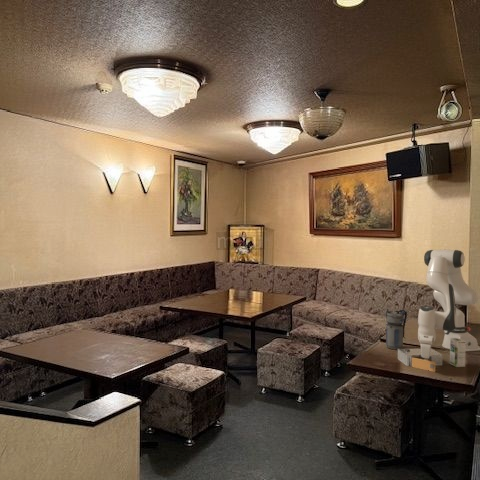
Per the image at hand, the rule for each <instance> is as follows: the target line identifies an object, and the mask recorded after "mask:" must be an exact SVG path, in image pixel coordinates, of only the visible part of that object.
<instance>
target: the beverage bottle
mask: <svg viewBox="0 0 480 480" xmlns="http://www.w3.org/2000/svg"><path fill="white" fill-rule="evenodd" d="M384 316H385V322H386V325H385V346H386V348H387V349H389V350H394V351H395V350H396V351H398V349H404V339H406V337H405V326H406V322H407V317H408V312H407V311H406V310H405V309H400V310H394V311H393V310H392V311H391V310H389V308H386V309H385V311H384Z"/></svg>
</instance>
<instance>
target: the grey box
mask: <svg viewBox="0 0 480 480" xmlns="http://www.w3.org/2000/svg"><path fill="white" fill-rule="evenodd" d="M410 356H412V357H413V358H418V359H423V360H424V358H423V357H422V355H421V348H402V349H398V350H397V360H398V361H400V362H401V363H402V364H404V365H405V366H406V367H410ZM428 361H432V362H435V367H436V366H439V367H440V366H443V354H441V352H439V351H436V350H435V349H434V348H432V347H431V351H430V357H429V358H428Z"/></svg>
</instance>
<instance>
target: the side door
mask: <svg viewBox="0 0 480 480" xmlns="http://www.w3.org/2000/svg"><path fill="white" fill-rule="evenodd" d="M409 367H410V368H411V367H413V368H414V369H415V368H416V369H421V370H424V371H428V370H429V371H430V372H433V373H435V372H436V366H435V362H432V361H427V360H423V359H418V358H413V357H412V356H410V366H409Z"/></svg>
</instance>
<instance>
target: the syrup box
mask: <svg viewBox="0 0 480 480" xmlns="http://www.w3.org/2000/svg"><path fill="white" fill-rule="evenodd" d="M465 350H466V341H464V340H462V339H459V338H451V339H450V349H449V365H452V366H453V367H456V368H466V351H465Z"/></svg>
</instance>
